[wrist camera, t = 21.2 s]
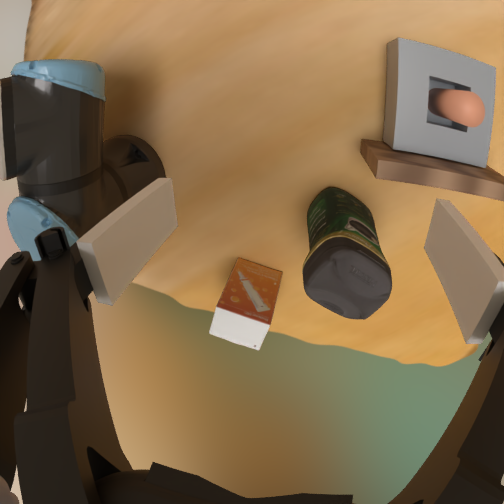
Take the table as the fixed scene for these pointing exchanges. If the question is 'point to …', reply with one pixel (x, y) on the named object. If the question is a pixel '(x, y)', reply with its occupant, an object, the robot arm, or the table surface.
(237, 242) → the table surface
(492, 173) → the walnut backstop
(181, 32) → the table surface
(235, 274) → the small box
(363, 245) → the coffee jar
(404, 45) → the socket block
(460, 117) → the dowel
